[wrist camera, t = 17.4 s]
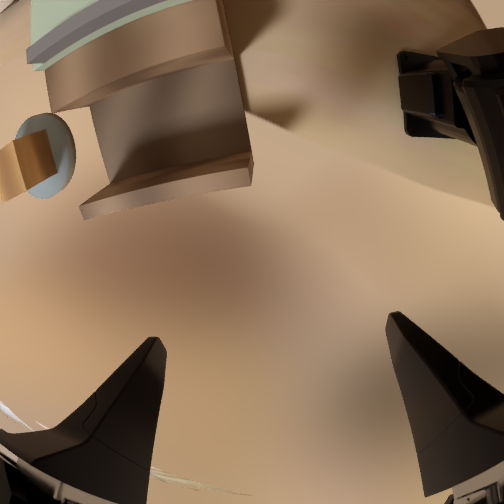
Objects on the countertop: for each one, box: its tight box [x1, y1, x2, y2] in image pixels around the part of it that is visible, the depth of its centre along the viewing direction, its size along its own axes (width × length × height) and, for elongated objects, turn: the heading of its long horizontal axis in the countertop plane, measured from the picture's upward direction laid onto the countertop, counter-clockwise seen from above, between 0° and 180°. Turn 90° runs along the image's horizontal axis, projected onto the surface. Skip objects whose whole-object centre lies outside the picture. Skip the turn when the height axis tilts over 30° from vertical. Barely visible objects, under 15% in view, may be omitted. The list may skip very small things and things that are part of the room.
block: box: [0, 129, 58, 203], centre depth 15 cm, size 4×4×4 cm
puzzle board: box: [45, 0, 254, 220], centre depth 12 cm, size 11×19×5 cm, turn 10°
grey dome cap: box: [15, 113, 76, 199], centre depth 17 cm, size 8×8×1 cm
